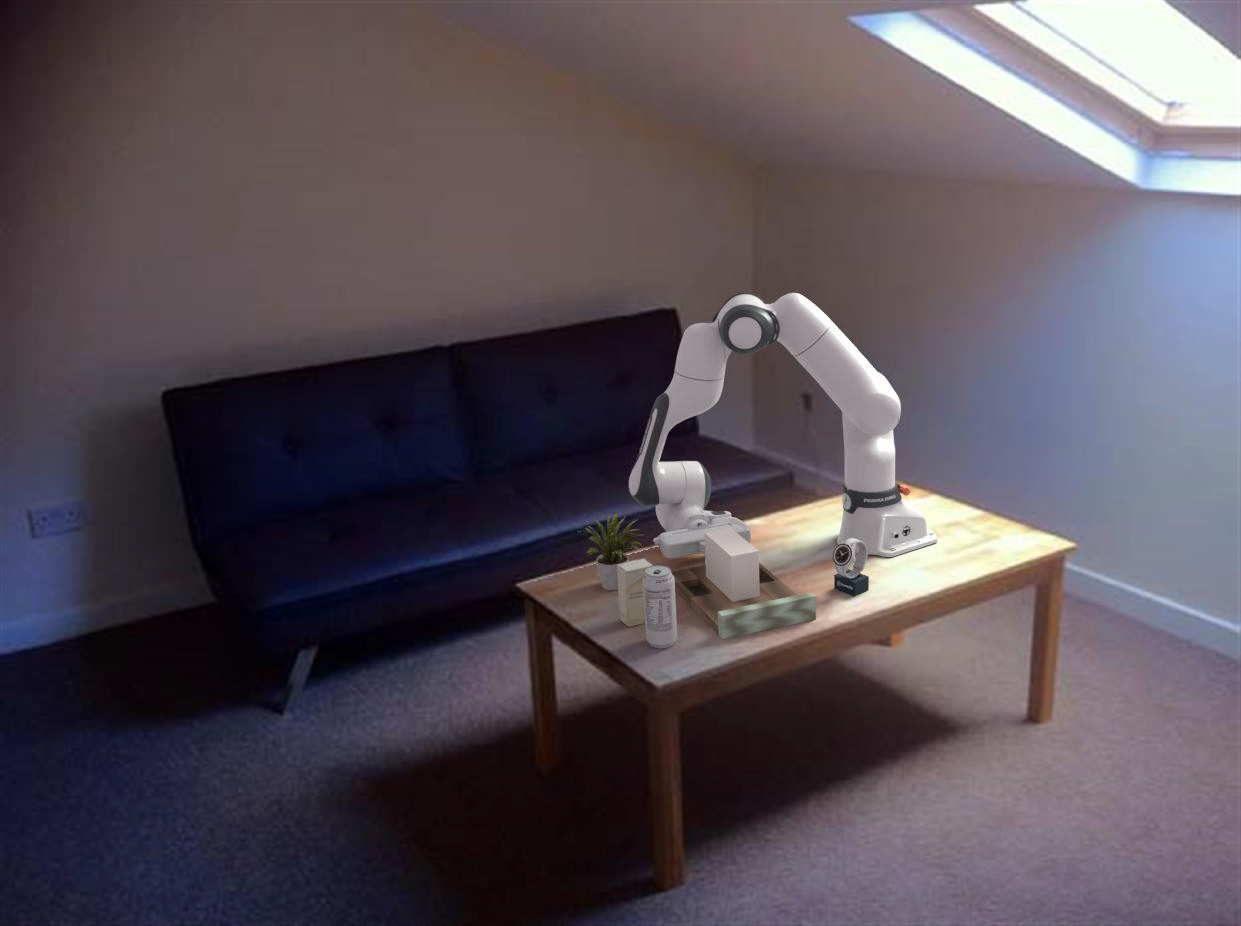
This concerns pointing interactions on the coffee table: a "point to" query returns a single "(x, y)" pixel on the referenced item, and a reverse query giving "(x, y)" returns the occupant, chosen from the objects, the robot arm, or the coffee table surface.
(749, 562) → the block
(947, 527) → the coffee table surface
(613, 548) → the house plant
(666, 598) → the energy drink can
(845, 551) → the watch
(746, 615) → the wooden tray
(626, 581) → the skincare box
